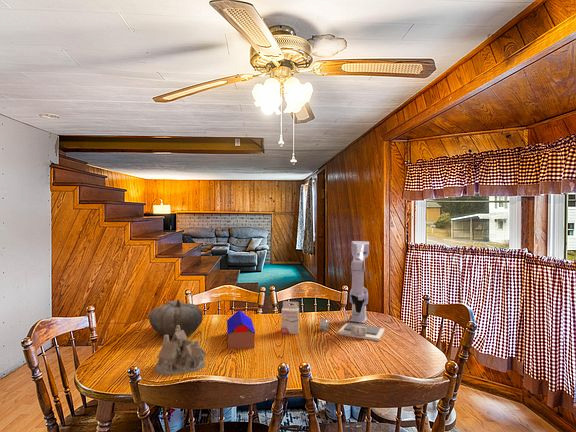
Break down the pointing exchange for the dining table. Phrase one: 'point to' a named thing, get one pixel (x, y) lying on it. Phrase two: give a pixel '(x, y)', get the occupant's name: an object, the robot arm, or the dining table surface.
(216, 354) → the dining table surface
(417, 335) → the dining table surface
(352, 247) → the robot arm
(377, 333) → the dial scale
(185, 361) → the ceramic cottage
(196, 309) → the gourd
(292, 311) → the ink cartridge box
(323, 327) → the spacer
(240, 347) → the house
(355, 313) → the spacer
